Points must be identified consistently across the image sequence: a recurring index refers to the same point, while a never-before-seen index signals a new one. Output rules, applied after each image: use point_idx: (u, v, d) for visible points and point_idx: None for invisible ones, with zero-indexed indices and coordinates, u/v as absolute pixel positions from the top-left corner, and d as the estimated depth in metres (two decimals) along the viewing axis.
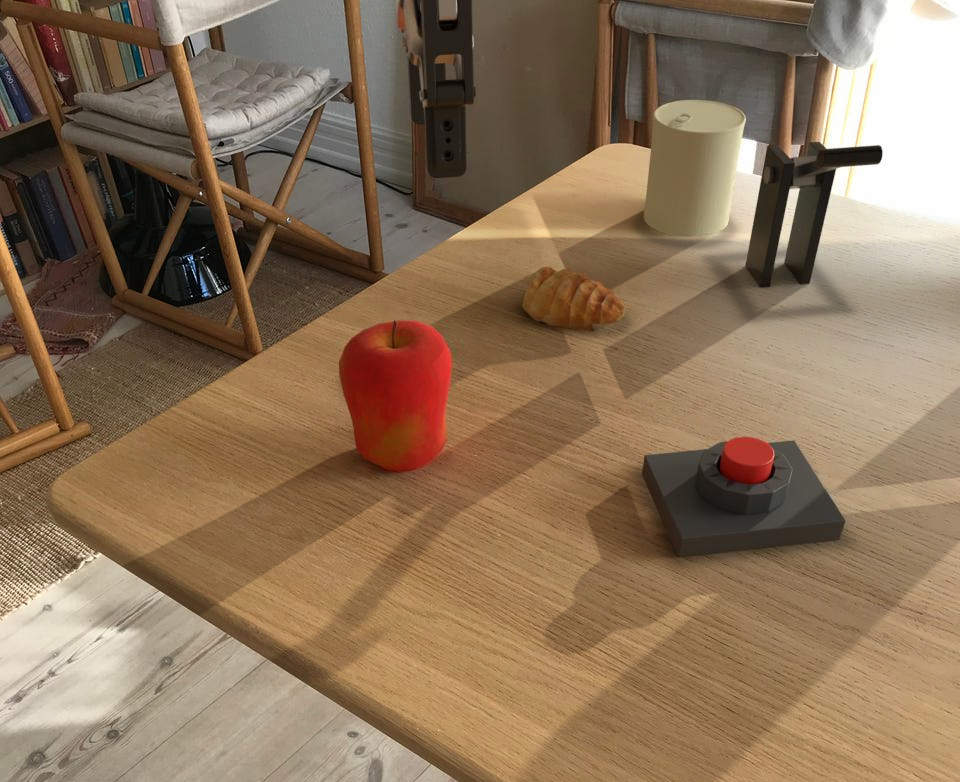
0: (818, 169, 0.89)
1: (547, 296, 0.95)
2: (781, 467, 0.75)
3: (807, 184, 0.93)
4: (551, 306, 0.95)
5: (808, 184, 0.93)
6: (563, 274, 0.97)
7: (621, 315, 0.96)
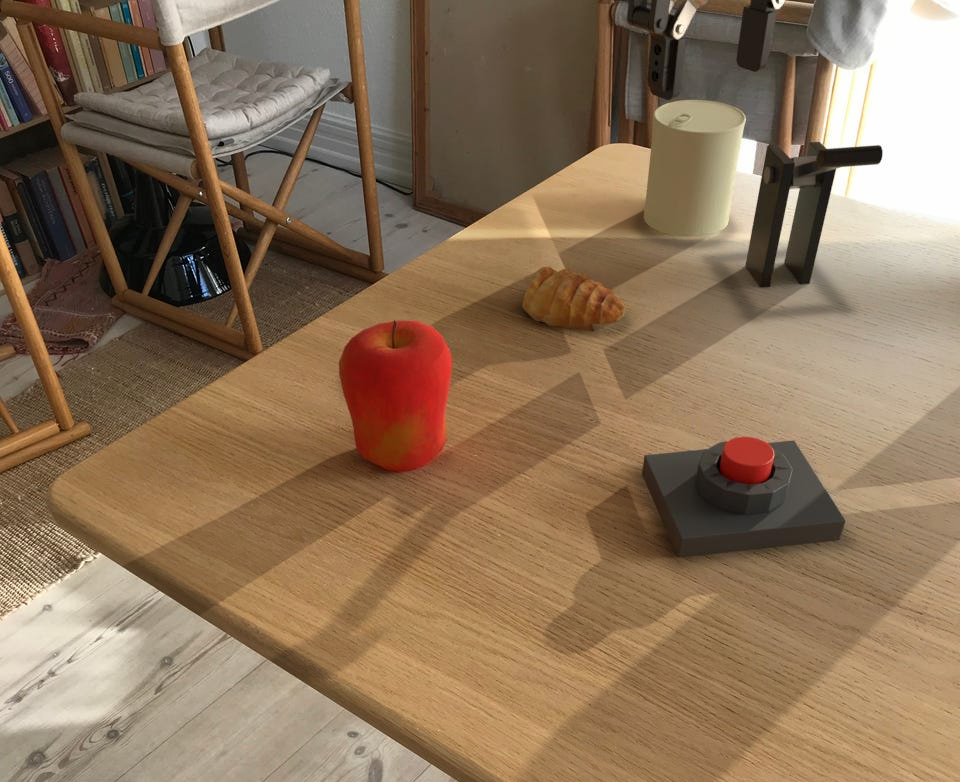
0: (818, 169, 0.89)
1: (547, 296, 0.95)
2: (781, 467, 0.75)
3: (807, 184, 0.93)
4: (551, 306, 0.95)
5: (808, 184, 0.93)
6: (563, 274, 0.97)
7: (621, 315, 0.96)
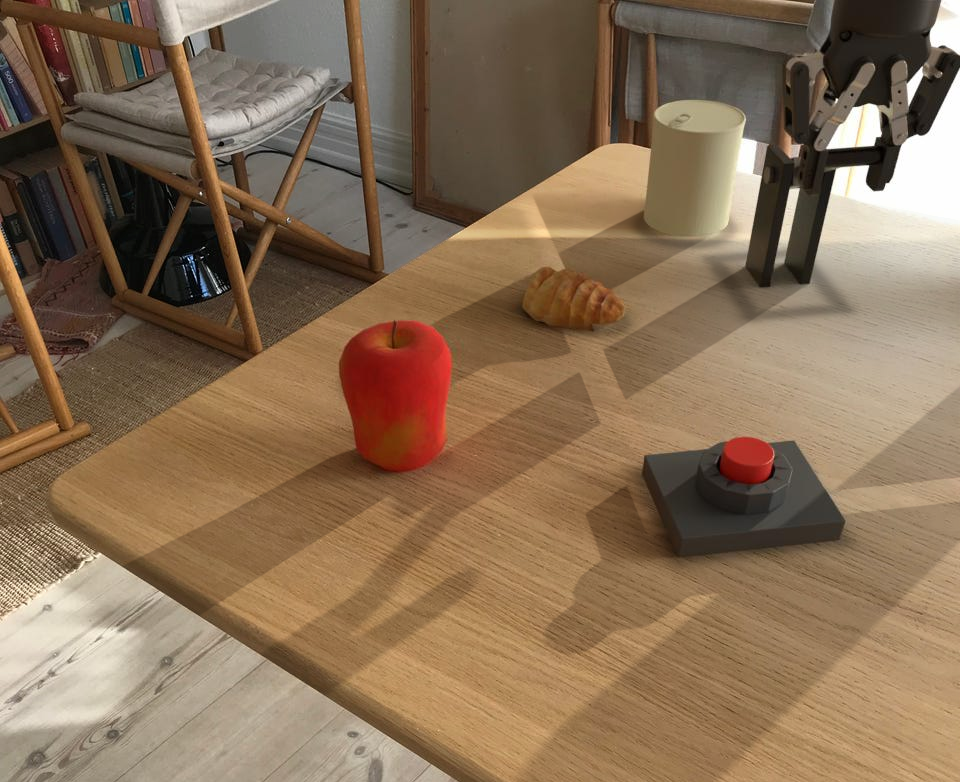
0: None
1: (547, 296, 0.95)
2: (781, 467, 0.75)
3: None
4: (551, 306, 0.95)
5: None
6: (563, 274, 0.97)
7: (621, 315, 0.96)
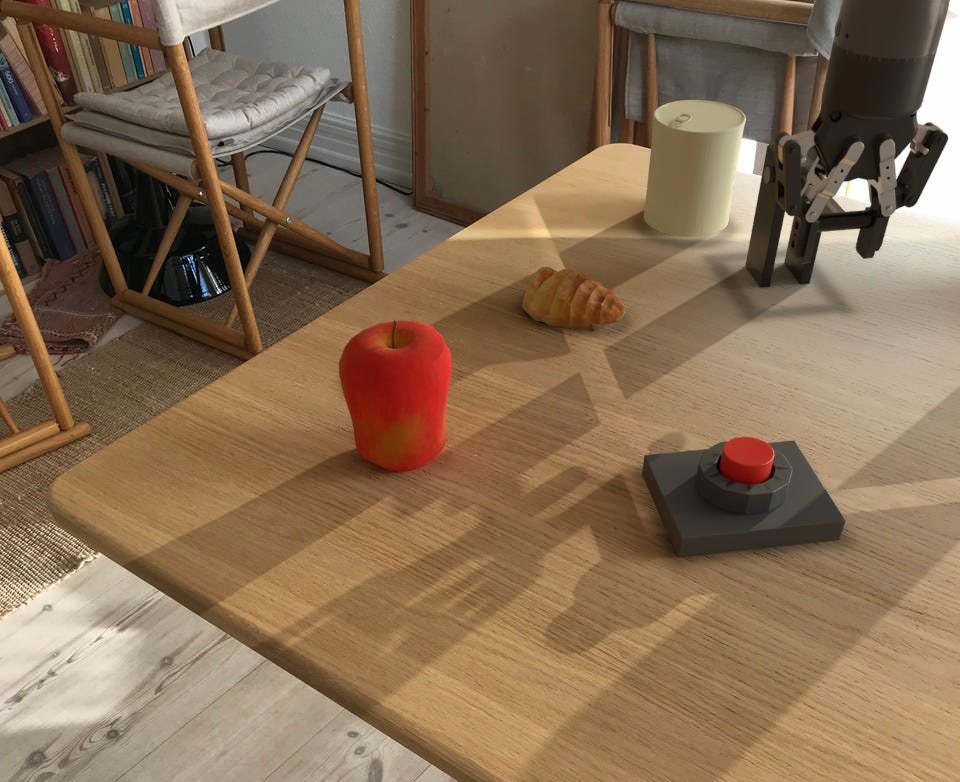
0: None
1: (547, 296, 0.95)
2: (781, 467, 0.75)
3: None
4: (551, 306, 0.95)
5: None
6: (563, 274, 0.97)
7: (621, 315, 0.96)
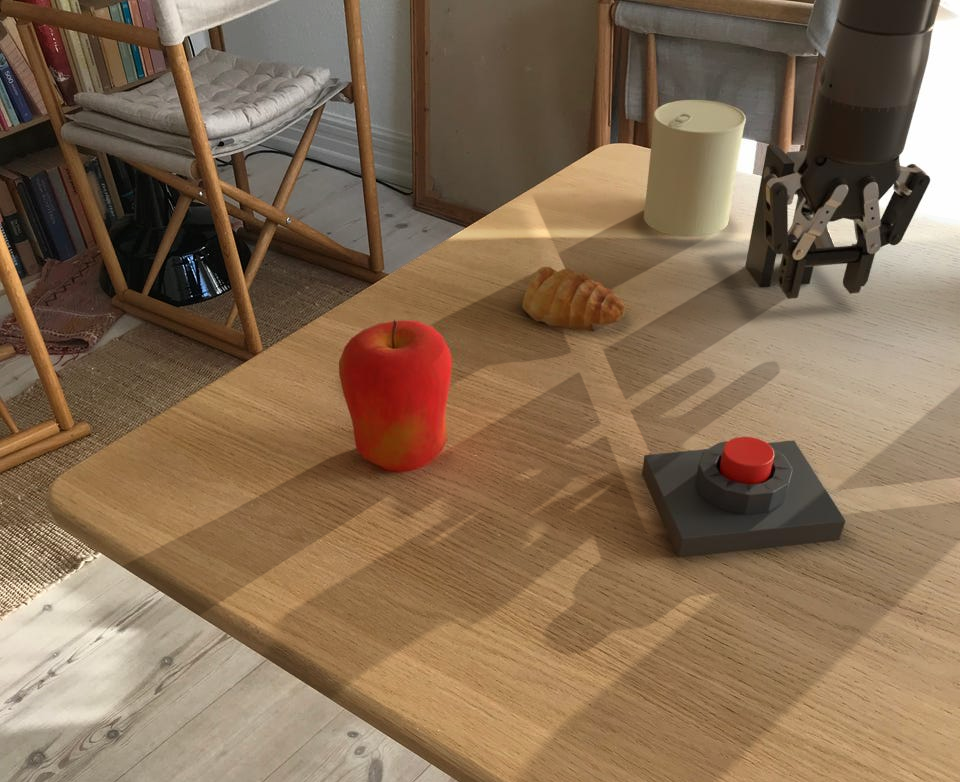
0: None
1: (546, 296, 0.95)
2: (781, 467, 0.75)
3: None
4: (551, 306, 0.95)
5: None
6: (563, 274, 0.97)
7: (621, 315, 0.96)
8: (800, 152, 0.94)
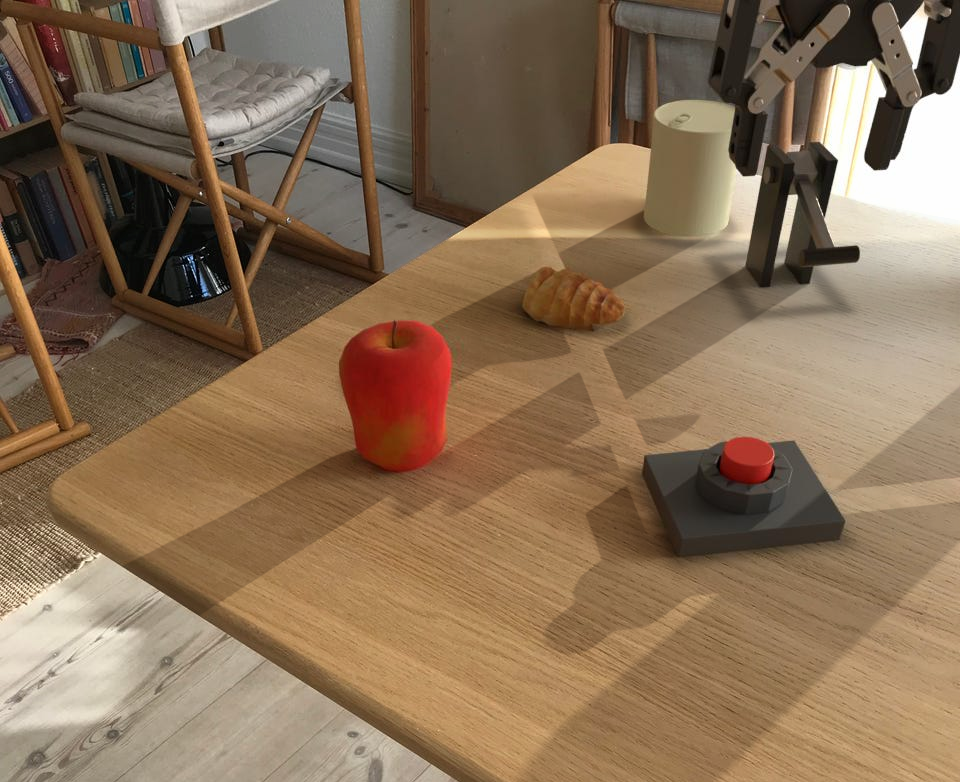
0: (807, 220, 0.92)
1: (546, 296, 0.95)
2: (781, 467, 0.75)
3: None
4: (551, 306, 0.95)
5: None
6: (563, 274, 0.97)
7: (621, 315, 0.96)
8: (800, 152, 0.94)
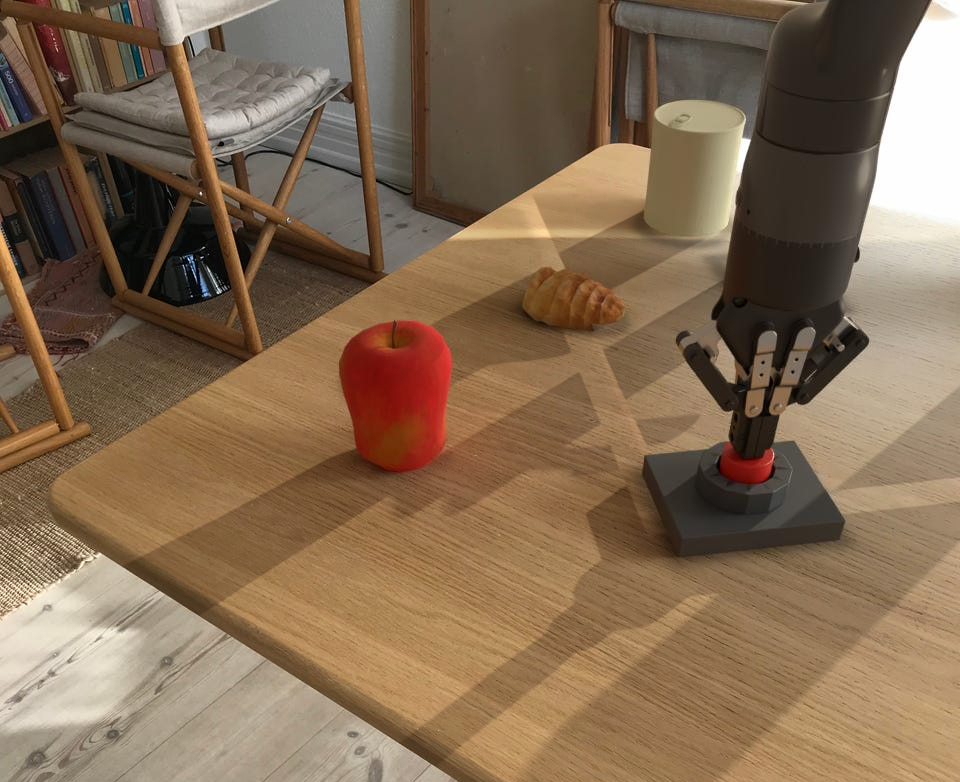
0: None
1: (546, 297, 0.95)
2: (781, 467, 0.75)
3: None
4: (551, 306, 0.95)
5: None
6: (563, 274, 0.97)
7: (621, 315, 0.96)
8: None
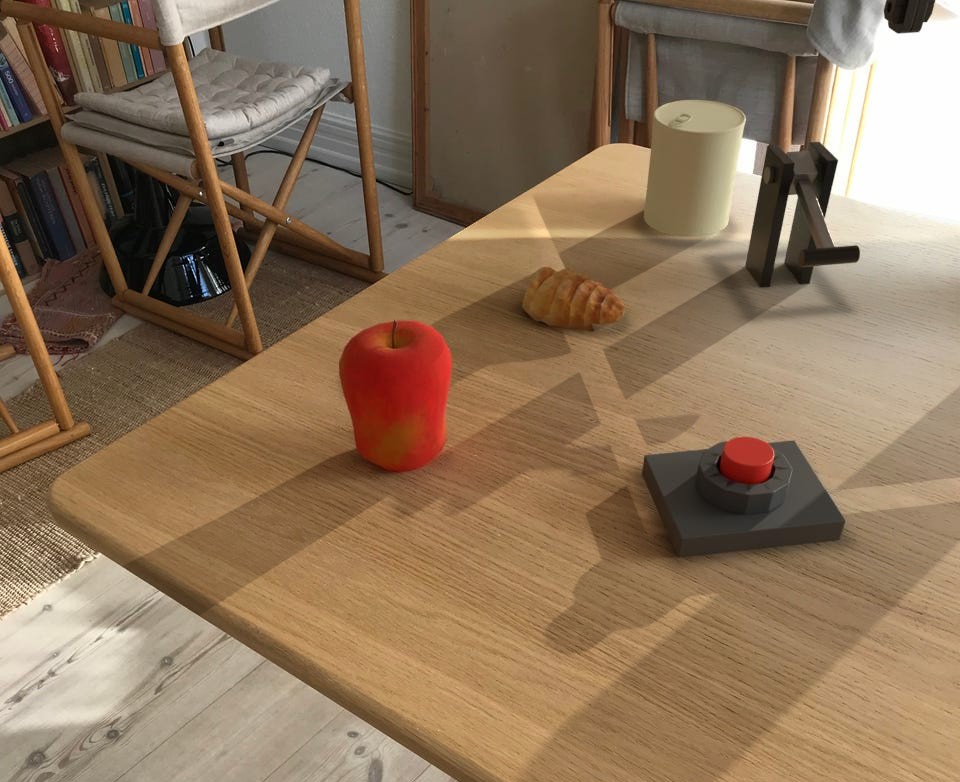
0: (807, 220, 0.92)
1: (546, 297, 0.95)
2: (781, 467, 0.75)
3: None
4: (550, 306, 0.95)
5: None
6: (563, 274, 0.97)
7: (621, 315, 0.96)
8: (800, 152, 0.94)
